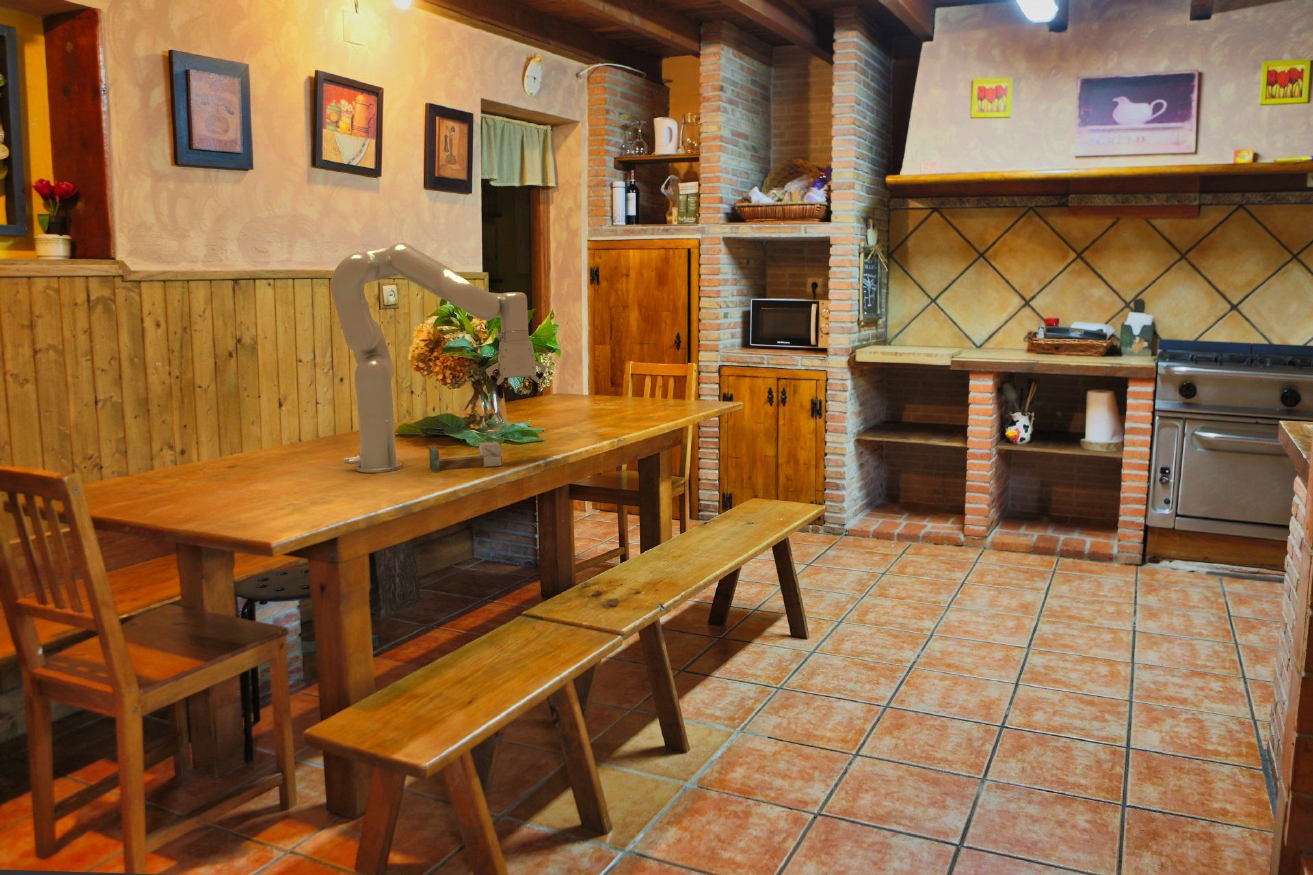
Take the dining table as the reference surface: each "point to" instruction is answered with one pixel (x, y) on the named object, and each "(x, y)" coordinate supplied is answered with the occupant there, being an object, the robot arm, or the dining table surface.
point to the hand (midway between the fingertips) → (517, 396)
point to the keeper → (490, 453)
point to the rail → (452, 461)
